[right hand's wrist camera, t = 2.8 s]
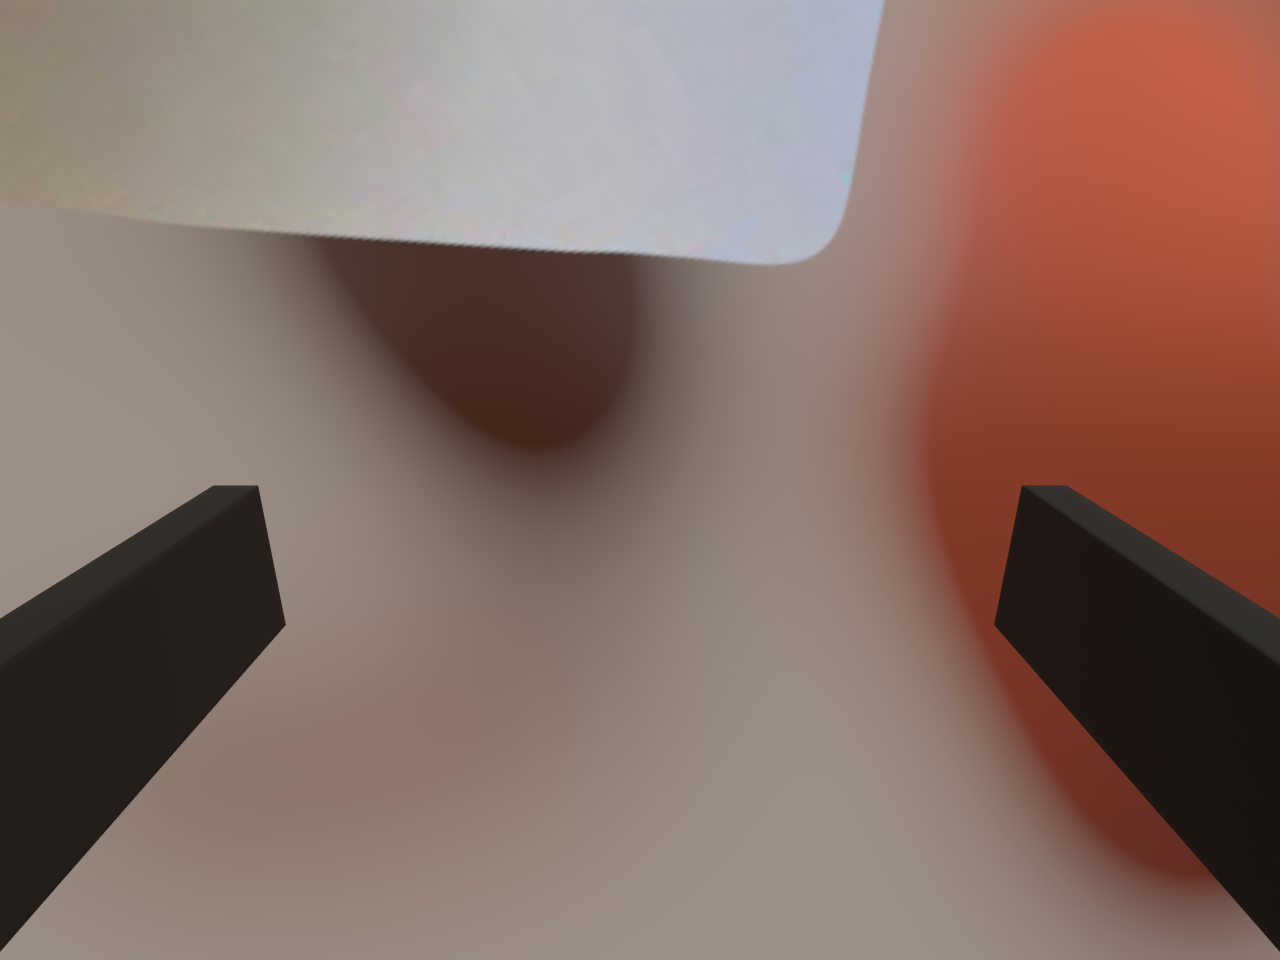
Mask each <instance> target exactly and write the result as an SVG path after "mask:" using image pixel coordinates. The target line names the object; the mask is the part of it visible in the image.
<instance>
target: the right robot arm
mask: <svg viewBox="0 0 1280 960" xmlns="http://www.w3.org/2000/svg"><path fill="white" fill-rule="evenodd" d="M285 625H286V624H285V619H284V614H283V609H282V604H281V599H280V594H279V589H278V583H277V579H276V574H275V568H274V563H273V558H272V553H271V548H270V543H269V538H268V533H267V528H266V523H265V518H264V513H263V508H262V503H261V498H260V493H259V488H258V486H212V487H210V488H209V489H207V490H206V491H204V492H202V493H201V494H199V495H198V496H196V497H194V498H193V499H191V500H190V501H188V502H186V503H185V504H183V505H182V506H180V507H178V508H177V509H175V510H174V511H172V512H170V513H169V514H167V515H166V516H164V517H162V518H161V519H159V520H157V521H156V522H154V523H153V524H151V525H150V526H148V527H146V528H145V529H143V530H141V531H140V532H138V533H137V534H135V535H133V536H132V537H130V538H129V539H127V540H125V541H124V542H122V543H121V544H119V545H118V546H116V547H114V548H113V549H111V550H109V551H108V552H106V553H105V554H103V555H101V556H100V557H98V558H97V559H95V560H93V561H92V562H90V563H89V564H87V565H85V566H84V567H82V568H81V569H79V570H77V571H76V572H74V573H72V574H71V575H69V576H68V577H66V578H65V579H63V580H61V581H60V582H58V583H56V584H55V585H53V586H52V587H50V588H49V589H47V590H45V591H44V592H42V593H40V594H39V595H37V596H36V597H34V598H33V599H31V600H29V601H28V602H26V603H24V604H23V605H21V606H20V607H18V608H16V609H15V610H13V611H12V612H10V613H8V614H7V615H5V616H4V617H2V618H0V951H1V950H2V949H3V948H4V947H5V945H6V944H7V943H8V942H9V941H10V940H11V939H12V937H13V936H14V935H15V934H16V933H17V932H18V931H19V929H20V928H21V927H22V926H23V925H24V924H25V923H26V921H27V920H28V919H29V918H30V917H31V916H32V915H33V913H34V912H35V911H36V910H37V909H38V908H39V907H40V905H41V904H42V903H43V902H44V901H45V900H46V899H47V897H48V896H49V895H50V894H51V893H52V892H53V891H54V889H55V888H56V887H57V886H58V885H59V884H60V883H61V881H62V880H63V879H64V878H65V877H66V876H67V875H68V873H69V872H70V871H71V870H72V869H73V868H74V866H75V865H76V864H77V863H78V862H79V861H80V860H81V858H82V857H83V856H84V855H85V854H86V853H87V852H88V851H89V849H90V848H91V847H92V846H93V845H94V844H95V843H96V841H97V840H98V839H99V838H100V837H101V836H102V834H103V833H104V832H105V831H106V830H107V829H108V828H109V826H110V825H111V824H112V823H113V822H114V821H115V820H116V818H117V817H118V816H119V815H120V814H121V813H122V812H123V810H124V809H125V808H126V807H127V806H128V805H129V804H130V802H131V801H132V800H133V799H134V798H135V797H136V796H137V794H138V793H139V792H140V791H141V790H142V789H143V788H144V786H145V785H146V784H147V783H148V782H149V781H150V780H151V778H152V777H153V776H154V775H155V774H156V773H157V772H158V770H159V769H160V768H161V767H162V766H163V765H164V764H165V762H166V761H167V760H168V759H169V758H170V757H171V756H172V754H173V753H174V752H175V751H176V750H177V749H178V748H179V746H180V745H181V744H182V743H183V742H184V741H185V739H186V738H187V737H188V736H189V735H190V734H191V733H192V732H193V730H194V729H195V728H196V727H197V726H198V725H199V723H200V722H201V721H202V720H203V719H204V718H205V717H206V716H207V714H208V713H209V712H210V711H211V710H212V709H213V708H214V706H215V705H216V704H217V703H218V702H219V701H220V699H221V698H222V697H223V696H224V695H225V694H226V693H227V692H228V690H229V689H230V688H231V687H232V686H233V685H234V683H235V682H236V681H237V680H238V679H239V678H240V677H241V675H242V674H243V673H244V672H245V671H246V670H247V669H248V667H249V666H250V665H251V664H252V663H253V662H254V661H255V659H256V658H257V657H258V656H259V655H260V654H261V653H262V651H263V650H264V649H265V648H266V647H267V646H268V645H269V643H270V642H271V641H272V640H273V639H274V638H275V637H276V635H277V634H278V633H279V632H280V631H281V630H282V629H283V627H284V626H285ZM994 625H995V626H996V627H997V629H998V630H999V631H1000V632H1001V633H1002V634H1003V635H1004V637H1005V638H1006V639H1007V640H1008V641H1009V642H1010V643H1011V645H1012V646H1013V647H1014V648H1015V649H1016V650H1017V651H1018V653H1019V654H1020V655H1021V656H1022V657H1023V658H1024V659H1025V661H1026V662H1027V663H1028V664H1029V665H1030V666H1031V667H1032V669H1033V670H1034V671H1035V672H1036V673H1037V674H1038V675H1039V677H1040V678H1041V679H1042V680H1043V681H1044V682H1045V683H1046V685H1047V686H1048V687H1049V688H1050V689H1051V690H1052V692H1053V693H1054V694H1055V695H1056V696H1057V697H1058V698H1059V699H1060V701H1061V702H1062V703H1063V704H1064V705H1065V706H1066V707H1067V709H1068V710H1069V711H1070V712H1071V713H1072V714H1073V716H1074V717H1075V718H1076V719H1077V720H1078V721H1079V722H1080V723H1081V725H1082V726H1083V727H1084V728H1085V729H1086V730H1087V732H1088V733H1089V734H1090V735H1091V736H1092V737H1093V738H1094V740H1095V741H1096V742H1097V743H1098V744H1099V745H1100V746H1101V748H1102V749H1103V750H1104V751H1105V752H1106V753H1107V754H1108V756H1109V757H1110V758H1111V759H1112V760H1113V761H1114V762H1115V764H1116V765H1117V766H1118V767H1119V768H1120V769H1121V770H1122V772H1123V773H1124V774H1125V775H1126V776H1127V777H1128V778H1129V780H1130V781H1131V782H1132V783H1133V784H1134V785H1135V786H1136V788H1137V789H1138V790H1139V791H1140V792H1141V793H1142V794H1143V796H1144V797H1145V798H1146V799H1147V800H1148V801H1149V802H1150V804H1151V805H1152V806H1153V807H1154V808H1155V809H1156V810H1157V812H1158V813H1159V814H1160V815H1161V816H1162V817H1163V818H1164V820H1165V821H1166V822H1167V823H1168V824H1169V825H1170V826H1171V828H1172V829H1173V830H1174V831H1175V832H1176V833H1177V835H1178V836H1179V837H1180V838H1181V839H1182V840H1183V841H1184V842H1185V844H1186V845H1187V846H1188V847H1189V848H1190V849H1191V851H1192V852H1193V853H1194V854H1195V855H1196V856H1197V857H1198V858H1199V860H1200V861H1201V862H1202V863H1203V864H1204V865H1205V867H1206V868H1207V869H1208V870H1209V871H1210V872H1211V873H1212V875H1213V876H1214V877H1215V878H1216V879H1217V880H1218V881H1219V883H1220V884H1221V885H1222V886H1223V887H1224V888H1225V889H1226V891H1227V892H1228V893H1229V894H1230V895H1231V896H1232V897H1233V899H1234V900H1235V901H1236V902H1237V903H1238V904H1239V905H1240V907H1241V908H1242V909H1243V910H1244V911H1245V912H1246V913H1247V915H1248V916H1249V917H1250V918H1251V919H1252V920H1253V921H1254V923H1255V924H1256V925H1257V926H1258V927H1259V928H1260V929H1261V931H1262V932H1263V933H1264V934H1265V935H1266V936H1267V937H1268V939H1269V940H1270V941H1271V942H1272V943H1273V944H1274V945H1275V947H1276V948H1277V949H1278V950H1279V951H1280V618H1278V617H1276V616H1275V615H1273V614H1272V613H1270V612H1268V611H1267V610H1265V609H1264V608H1262V607H1260V606H1259V605H1257V604H1256V603H1254V602H1252V601H1251V600H1249V599H1248V598H1246V597H1244V596H1243V595H1241V594H1240V593H1238V592H1236V591H1235V590H1233V589H1232V588H1230V587H1228V586H1227V585H1225V584H1224V583H1222V582H1220V581H1219V580H1217V579H1215V578H1214V577H1212V576H1211V575H1209V574H1208V573H1206V572H1204V571H1203V570H1201V569H1199V568H1198V567H1196V566H1195V565H1193V564H1191V563H1190V562H1188V561H1187V560H1185V559H1183V558H1182V557H1180V556H1179V555H1177V554H1175V553H1174V552H1172V551H1171V550H1169V549H1167V548H1166V547H1164V546H1162V545H1161V544H1159V543H1158V542H1156V541H1155V540H1153V539H1151V538H1150V537H1148V536H1147V535H1145V534H1143V533H1142V532H1140V531H1139V530H1137V529H1135V528H1134V527H1132V526H1131V525H1129V524H1127V523H1126V522H1124V521H1123V520H1121V519H1119V518H1118V517H1116V516H1114V515H1113V514H1111V513H1110V512H1108V511H1106V510H1105V509H1103V508H1102V507H1100V506H1098V505H1097V504H1095V503H1094V502H1092V501H1090V500H1089V499H1087V498H1086V497H1084V496H1082V495H1081V494H1079V493H1078V492H1076V491H1074V490H1073V489H1071V488H1070V487H1068V486H1022V488H1021V493H1020V498H1019V503H1018V508H1017V513H1016V518H1015V523H1014V528H1013V533H1012V538H1011V543H1010V548H1009V553H1008V558H1007V563H1006V568H1005V573H1004V578H1003V583H1002V588H1001V594H1000V599H999V604H998V609H997V614H996V619H995V624H994Z"/></svg>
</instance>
